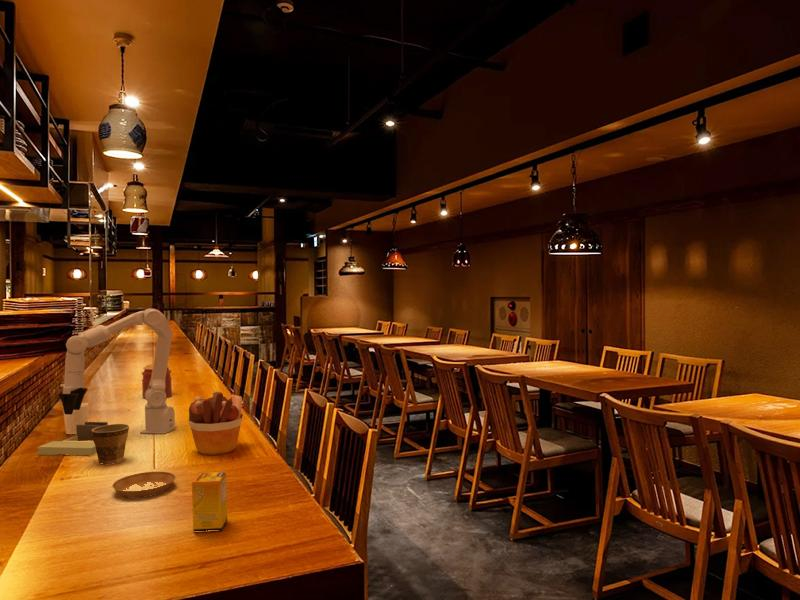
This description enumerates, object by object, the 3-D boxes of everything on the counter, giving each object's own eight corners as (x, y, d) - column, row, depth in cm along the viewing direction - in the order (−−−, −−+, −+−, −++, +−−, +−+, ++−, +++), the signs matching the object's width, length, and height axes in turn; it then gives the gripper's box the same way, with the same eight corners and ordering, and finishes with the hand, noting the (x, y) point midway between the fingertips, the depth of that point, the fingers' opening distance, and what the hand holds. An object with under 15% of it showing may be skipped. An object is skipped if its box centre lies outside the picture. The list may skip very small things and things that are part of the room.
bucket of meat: (188, 445, 184) (186, 385, 183) (240, 439, 190) (238, 380, 190) (191, 463, 166) (189, 395, 165) (248, 456, 172) (247, 391, 171)
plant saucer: (131, 480, 152) (130, 471, 152) (185, 480, 152) (184, 470, 152) (100, 501, 138) (100, 491, 137) (160, 501, 137) (159, 491, 137)
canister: (165, 399, 260) (164, 361, 260) (137, 400, 261) (136, 361, 260) (176, 394, 273) (175, 357, 273) (150, 394, 274) (148, 358, 273)
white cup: (78, 436, 198) (77, 407, 198) (58, 435, 200) (57, 407, 199) (94, 430, 206) (93, 403, 206) (75, 429, 207) (74, 402, 207)
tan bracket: (117, 444, 187) (117, 436, 187) (91, 456, 174) (91, 447, 174) (67, 443, 189) (66, 435, 189) (37, 454, 176) (37, 446, 176)
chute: (108, 437, 197) (107, 422, 196) (98, 441, 192) (98, 425, 191) (86, 437, 198) (86, 421, 197) (76, 441, 193) (76, 425, 192)
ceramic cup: (137, 457, 172) (136, 425, 172) (110, 467, 162) (109, 433, 162) (104, 454, 176) (103, 422, 176) (76, 463, 167) (75, 430, 166)
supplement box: (200, 521, 124) (198, 472, 124) (227, 520, 125) (226, 471, 125) (192, 533, 118) (191, 481, 118) (221, 532, 119) (220, 480, 119)
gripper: (68, 368, 196) (66, 407, 196) (53, 374, 182) (51, 416, 182) (90, 369, 198) (88, 407, 198) (77, 374, 184) (75, 416, 184)
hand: (72, 411), depth 190 cm, fingers open, 7 cm apart
